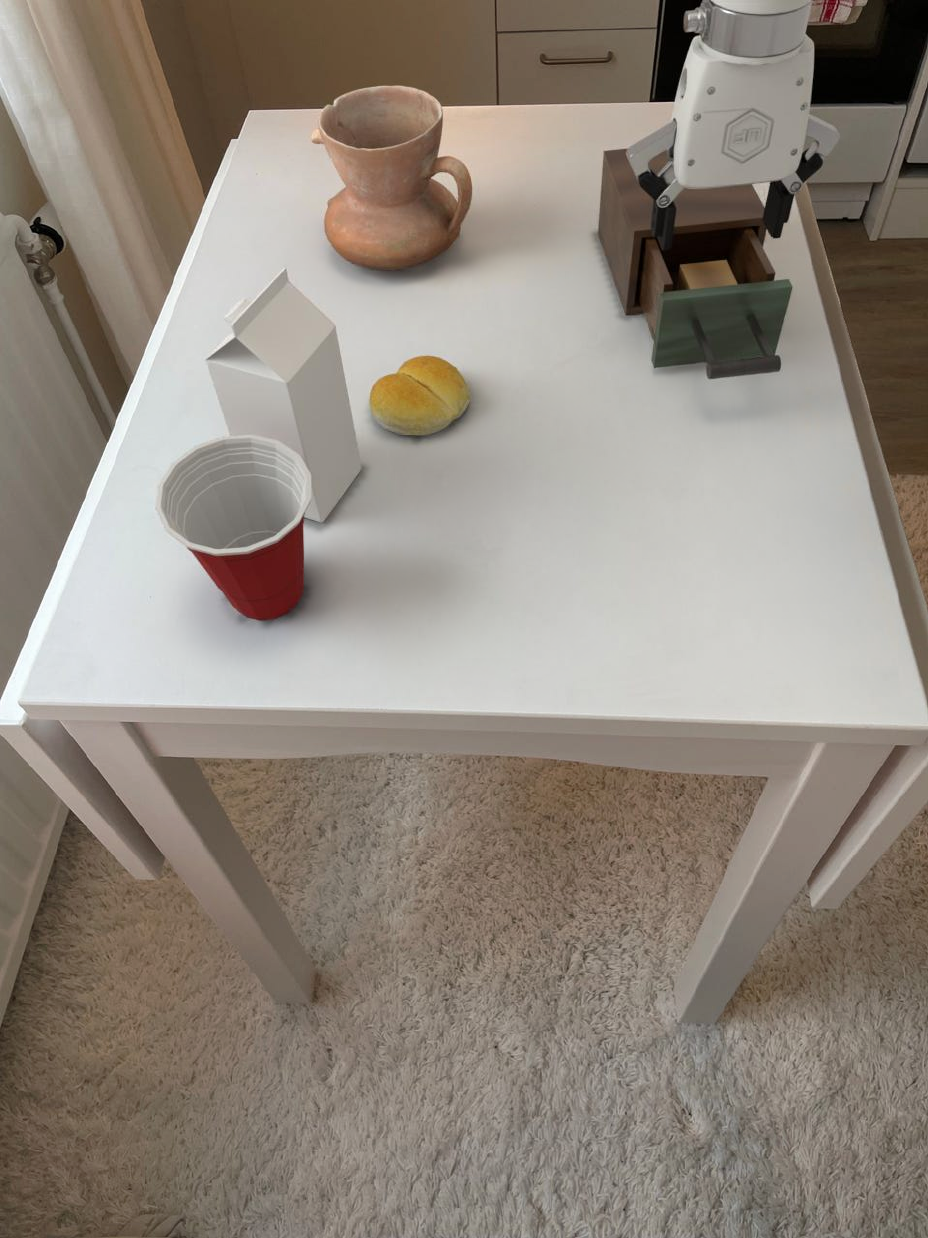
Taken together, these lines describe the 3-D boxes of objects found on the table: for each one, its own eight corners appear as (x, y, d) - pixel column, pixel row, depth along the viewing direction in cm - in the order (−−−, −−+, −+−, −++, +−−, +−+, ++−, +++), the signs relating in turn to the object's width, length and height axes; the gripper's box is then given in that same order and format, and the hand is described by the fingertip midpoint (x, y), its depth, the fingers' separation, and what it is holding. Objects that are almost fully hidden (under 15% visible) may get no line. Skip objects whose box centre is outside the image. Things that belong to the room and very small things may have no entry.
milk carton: (363, 469, 83) (327, 277, 68) (322, 525, 80) (275, 336, 64) (293, 447, 85) (243, 257, 70) (250, 501, 82) (188, 312, 66)
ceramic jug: (293, 262, 103) (265, 129, 91) (366, 196, 110) (348, 65, 98) (437, 306, 97) (426, 170, 85) (504, 233, 104) (502, 99, 93)
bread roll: (354, 411, 88) (348, 377, 85) (427, 366, 91) (423, 331, 88) (413, 455, 84) (409, 420, 81) (486, 406, 87) (485, 371, 84)
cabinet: (750, 302, 95) (770, 216, 87) (625, 315, 94) (634, 230, 87) (712, 221, 103) (727, 137, 96) (597, 233, 103) (603, 150, 96)
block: (718, 300, 92) (726, 259, 88) (731, 328, 89) (739, 287, 86) (673, 304, 92) (679, 264, 88) (684, 333, 89) (691, 292, 86)
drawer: (799, 406, 84) (820, 338, 78) (672, 420, 84) (683, 352, 78) (735, 271, 96) (749, 202, 91) (623, 282, 96) (630, 215, 90)
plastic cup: (246, 674, 71) (203, 572, 61) (176, 588, 76) (126, 482, 67) (364, 598, 75) (341, 491, 65) (290, 521, 80) (258, 412, 70)
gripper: (649, 56, 68) (628, 270, 81) (889, 31, 68) (827, 249, 82) (627, 12, 72) (611, 222, 86) (852, -11, 73) (800, 202, 86)
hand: (716, 235), depth 84 cm, fingers open, 9 cm apart
